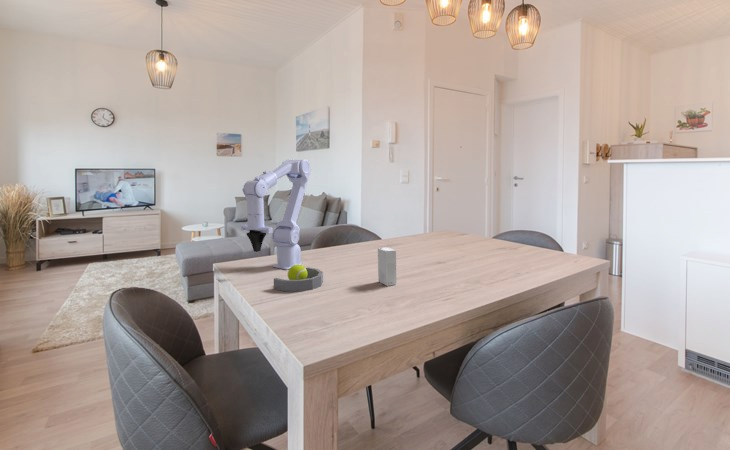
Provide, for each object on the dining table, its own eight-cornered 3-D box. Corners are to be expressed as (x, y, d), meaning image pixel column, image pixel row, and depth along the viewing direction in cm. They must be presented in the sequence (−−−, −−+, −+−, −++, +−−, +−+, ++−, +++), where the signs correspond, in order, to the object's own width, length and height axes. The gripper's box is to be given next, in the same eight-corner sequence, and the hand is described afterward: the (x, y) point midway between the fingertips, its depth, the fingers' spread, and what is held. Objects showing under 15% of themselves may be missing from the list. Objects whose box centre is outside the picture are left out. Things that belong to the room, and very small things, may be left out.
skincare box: (396, 284, 128) (397, 250, 126) (385, 286, 126) (386, 251, 124) (388, 280, 133) (388, 246, 132) (377, 281, 131) (377, 247, 130)
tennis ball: (300, 279, 133) (300, 261, 132) (311, 284, 128) (311, 265, 127) (284, 283, 128) (283, 264, 128) (294, 288, 124) (294, 268, 123)
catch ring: (308, 276, 137) (308, 267, 137) (332, 281, 131) (332, 271, 131) (273, 289, 122) (273, 278, 122) (299, 294, 117) (299, 284, 116)
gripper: (233, 213, 134) (234, 250, 136) (261, 216, 127) (263, 255, 129) (248, 212, 140) (249, 247, 142) (276, 214, 133) (277, 252, 135)
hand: (257, 251), depth 136 cm, fingers closed
